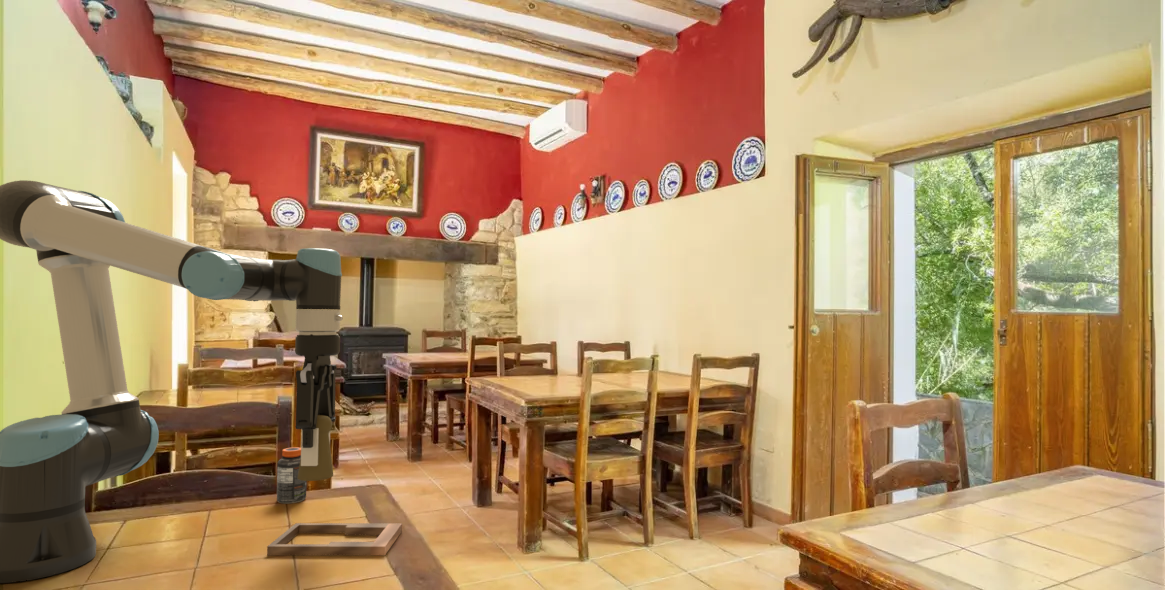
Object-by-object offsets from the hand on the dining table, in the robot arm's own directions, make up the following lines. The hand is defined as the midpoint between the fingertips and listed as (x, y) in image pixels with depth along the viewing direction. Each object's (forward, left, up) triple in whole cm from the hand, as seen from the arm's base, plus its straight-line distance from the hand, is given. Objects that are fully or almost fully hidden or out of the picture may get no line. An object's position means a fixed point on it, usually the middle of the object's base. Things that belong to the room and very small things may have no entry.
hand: (315, 461), depth 116 cm
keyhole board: (+4, 0, -15) cm, 15 cm away
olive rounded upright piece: (0, 0, -3) cm, 3 cm away
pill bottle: (-15, +26, -15) cm, 33 cm away
